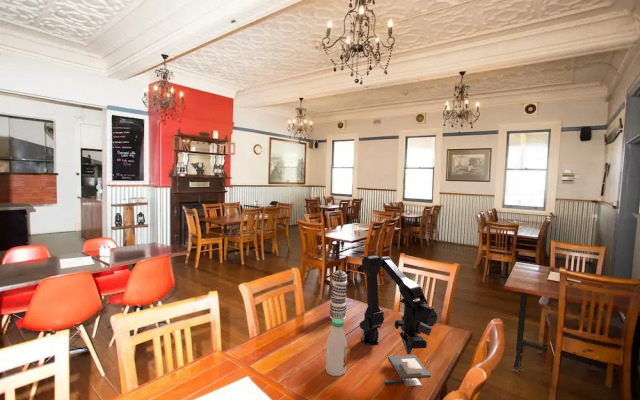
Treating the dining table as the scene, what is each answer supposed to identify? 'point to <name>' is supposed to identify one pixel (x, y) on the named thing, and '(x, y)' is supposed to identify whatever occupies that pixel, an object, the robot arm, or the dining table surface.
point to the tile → (411, 366)
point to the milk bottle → (336, 349)
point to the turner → (404, 382)
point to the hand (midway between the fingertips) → (408, 353)
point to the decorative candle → (338, 295)
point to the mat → (400, 370)
